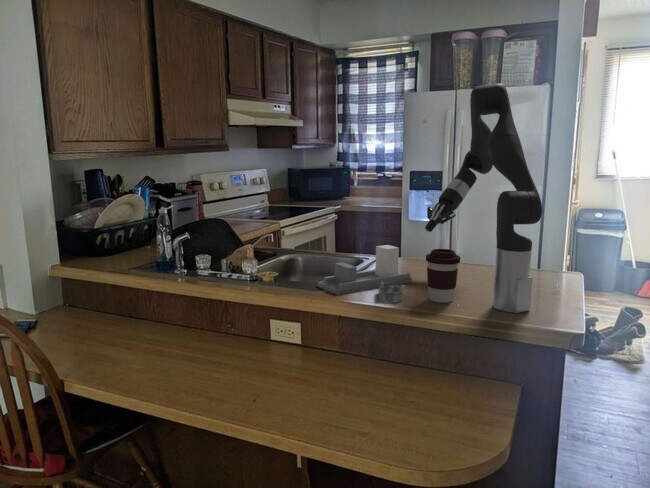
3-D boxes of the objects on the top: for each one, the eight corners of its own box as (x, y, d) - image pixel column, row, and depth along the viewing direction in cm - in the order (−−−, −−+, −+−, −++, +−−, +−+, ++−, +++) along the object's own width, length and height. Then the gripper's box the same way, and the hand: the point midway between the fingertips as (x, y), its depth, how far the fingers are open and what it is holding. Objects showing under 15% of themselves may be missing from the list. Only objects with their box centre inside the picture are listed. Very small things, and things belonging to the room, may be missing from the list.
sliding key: (397, 276, 173) (398, 247, 171) (386, 278, 170) (387, 249, 168) (386, 273, 178) (387, 244, 176) (375, 274, 175) (376, 246, 173)
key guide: (411, 282, 172) (411, 273, 172) (337, 295, 157) (337, 285, 156) (389, 274, 182) (389, 266, 182) (317, 286, 167) (317, 277, 166)
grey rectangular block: (359, 284, 163) (359, 266, 162) (348, 286, 161) (348, 268, 160) (345, 279, 170) (345, 261, 169) (334, 281, 168) (334, 263, 167)
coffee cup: (421, 294, 158) (423, 247, 155) (453, 295, 157) (456, 247, 155) (427, 304, 148) (429, 253, 145) (461, 305, 148) (464, 254, 145)
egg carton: (381, 292, 161) (381, 279, 161) (405, 294, 159) (405, 281, 159) (376, 301, 151) (376, 288, 150) (401, 303, 149) (401, 290, 149)
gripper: (436, 186, 188) (409, 221, 184) (463, 188, 177) (435, 225, 173) (446, 199, 192) (420, 234, 188) (472, 202, 181) (446, 239, 177)
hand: (427, 230), depth 181 cm, fingers closed
